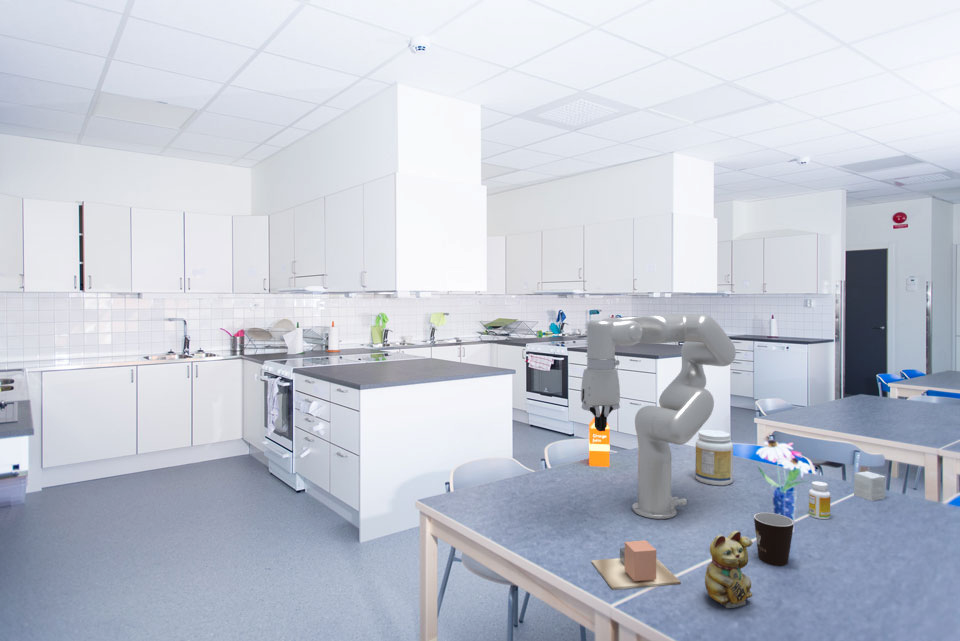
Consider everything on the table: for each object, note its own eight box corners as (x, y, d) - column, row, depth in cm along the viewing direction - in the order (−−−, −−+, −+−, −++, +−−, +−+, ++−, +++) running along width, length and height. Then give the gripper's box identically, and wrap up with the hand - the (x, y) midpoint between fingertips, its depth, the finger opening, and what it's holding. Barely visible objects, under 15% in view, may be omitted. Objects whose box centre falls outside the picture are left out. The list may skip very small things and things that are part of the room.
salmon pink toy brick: (645, 568, 130) (646, 540, 129) (656, 579, 124) (656, 550, 124) (624, 570, 129) (624, 541, 129) (634, 581, 124) (634, 551, 123)
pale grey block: (867, 492, 184) (867, 470, 183) (885, 499, 178) (886, 476, 178) (853, 495, 182) (853, 472, 181) (871, 501, 176) (872, 478, 176)
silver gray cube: (630, 559, 135) (630, 547, 135) (634, 564, 132) (634, 552, 132) (619, 560, 135) (619, 548, 134) (624, 565, 132) (624, 553, 132)
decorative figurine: (724, 614, 112) (724, 540, 112) (693, 594, 120) (693, 525, 119) (758, 604, 116) (759, 532, 116) (726, 585, 124) (727, 518, 123)
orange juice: (589, 466, 214) (589, 414, 214) (588, 459, 223) (588, 409, 223) (610, 466, 213) (610, 414, 213) (608, 460, 222) (608, 410, 221)
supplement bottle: (832, 515, 164) (832, 483, 163) (827, 521, 160) (828, 487, 159) (811, 511, 167) (811, 479, 167) (806, 516, 163) (807, 483, 163)
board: (653, 557, 137) (653, 555, 137) (680, 583, 124) (680, 581, 124) (591, 562, 135) (591, 560, 135) (612, 589, 122) (612, 587, 122)
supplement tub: (700, 473, 205) (700, 427, 204) (736, 479, 198) (736, 432, 197) (691, 482, 195) (691, 433, 194) (728, 488, 188) (729, 438, 187)
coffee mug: (792, 571, 130) (792, 529, 130) (751, 562, 134) (751, 521, 134) (794, 552, 140) (795, 513, 139) (756, 544, 144) (757, 506, 144)
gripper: (621, 362, 160) (620, 426, 161) (570, 363, 158) (570, 428, 158) (632, 365, 153) (631, 432, 153) (579, 366, 150) (579, 434, 151)
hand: (600, 430), depth 156 cm, fingers closed
